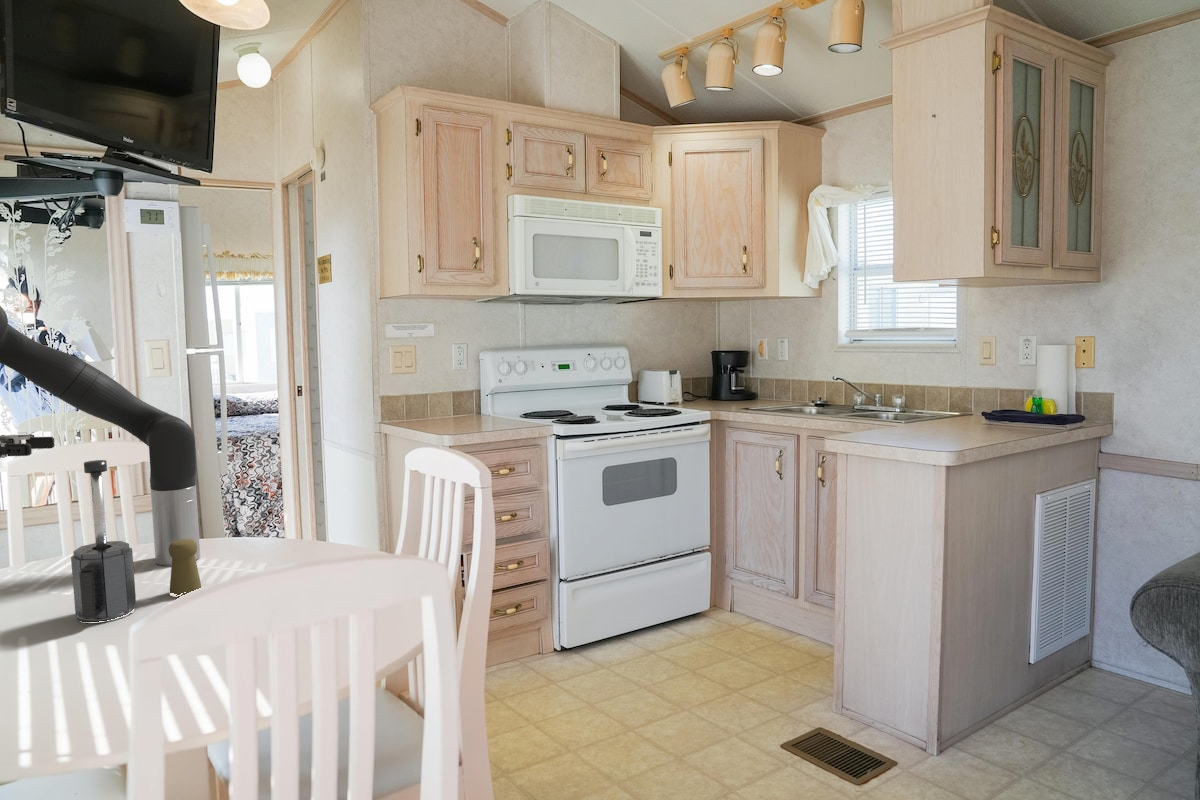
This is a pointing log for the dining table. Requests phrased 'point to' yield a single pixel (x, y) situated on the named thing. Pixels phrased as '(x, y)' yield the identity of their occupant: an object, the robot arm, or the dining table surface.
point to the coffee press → (103, 581)
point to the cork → (183, 567)
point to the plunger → (98, 500)
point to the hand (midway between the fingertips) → (42, 445)
